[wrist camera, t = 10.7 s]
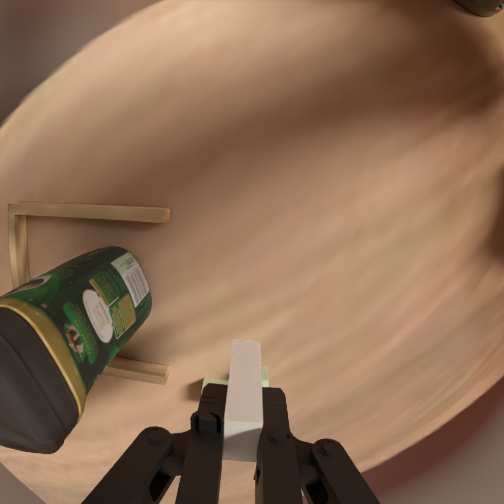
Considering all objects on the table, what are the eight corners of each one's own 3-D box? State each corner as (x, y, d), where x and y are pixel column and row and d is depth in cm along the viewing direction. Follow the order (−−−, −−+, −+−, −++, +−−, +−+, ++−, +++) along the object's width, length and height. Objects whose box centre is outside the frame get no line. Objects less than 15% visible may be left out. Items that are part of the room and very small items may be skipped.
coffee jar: (86, 337, 26) (-20, 458, 8) (55, 265, 25) (-90, 345, 7) (167, 317, 26) (78, 484, 8) (135, 234, 24) (-33, 320, 6)
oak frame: (20, 202, 23) (8, 204, 21) (170, 208, 24) (163, 210, 22) (34, 343, 27) (25, 351, 25) (169, 373, 27) (164, 385, 25)
